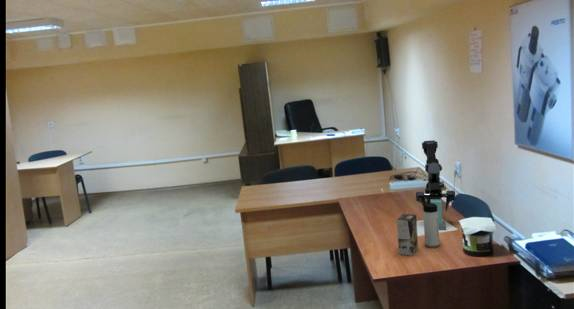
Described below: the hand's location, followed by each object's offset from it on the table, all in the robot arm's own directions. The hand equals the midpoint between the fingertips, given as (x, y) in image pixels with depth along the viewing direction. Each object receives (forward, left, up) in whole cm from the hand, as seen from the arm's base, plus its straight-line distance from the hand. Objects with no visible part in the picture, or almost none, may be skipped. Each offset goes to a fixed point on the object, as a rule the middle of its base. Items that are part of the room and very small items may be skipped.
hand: (436, 211), depth 229 cm
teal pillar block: (0, 0, -7) cm, 7 cm away
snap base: (0, 0, -9) cm, 9 cm away
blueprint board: (+4, -3, -9) cm, 11 cm away
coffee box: (+23, +20, -10) cm, 32 cm away
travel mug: (+11, +18, -10) cm, 23 cm away
